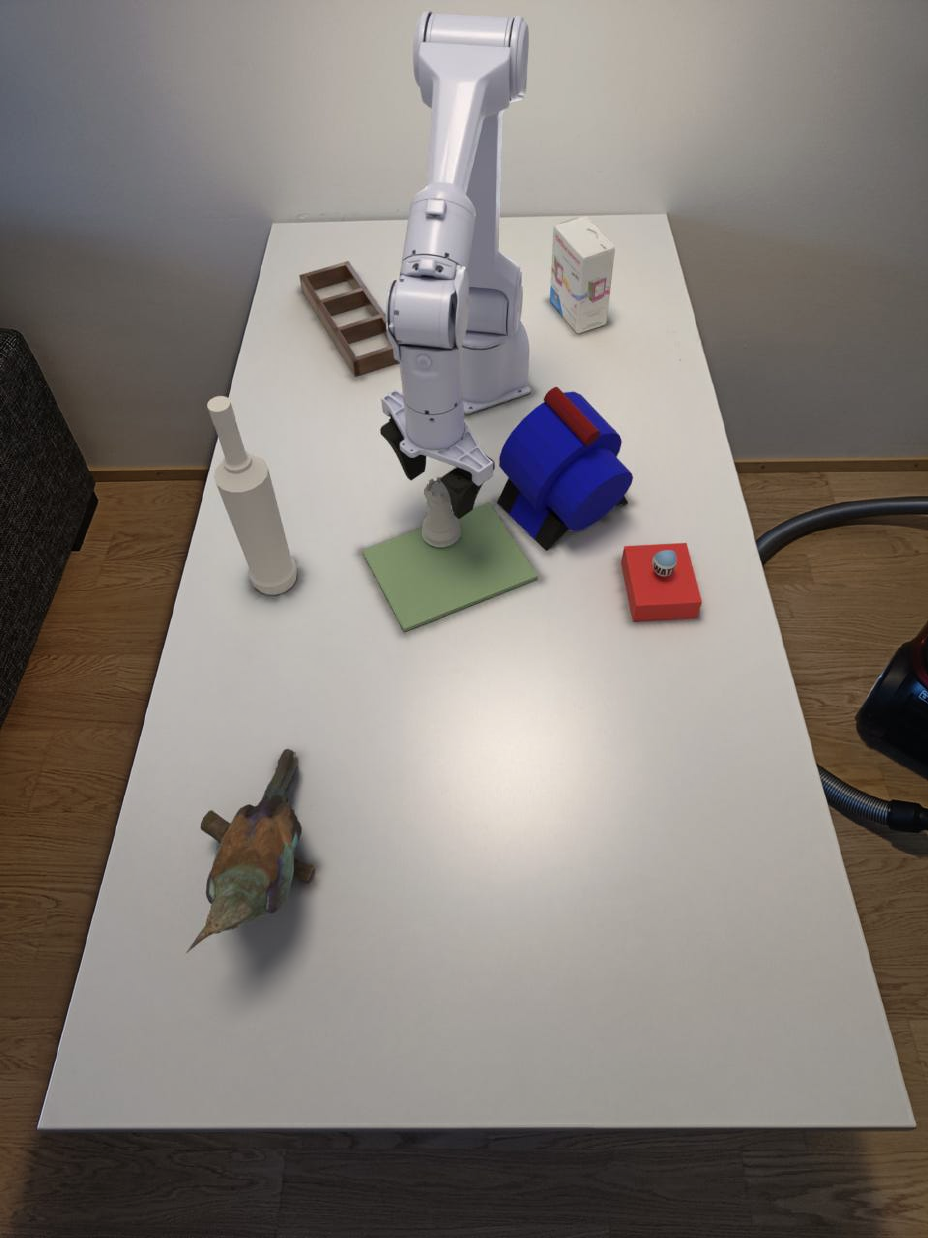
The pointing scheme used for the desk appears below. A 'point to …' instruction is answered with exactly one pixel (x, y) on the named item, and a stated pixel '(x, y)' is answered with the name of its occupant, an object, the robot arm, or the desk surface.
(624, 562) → the red rectangular block
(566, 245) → the ink box
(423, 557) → the mat
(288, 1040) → the desk surface
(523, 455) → the electric motor
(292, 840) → the bird figurine
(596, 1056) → the desk surface
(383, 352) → the rack
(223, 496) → the bottle
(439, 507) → the rook chess piece
